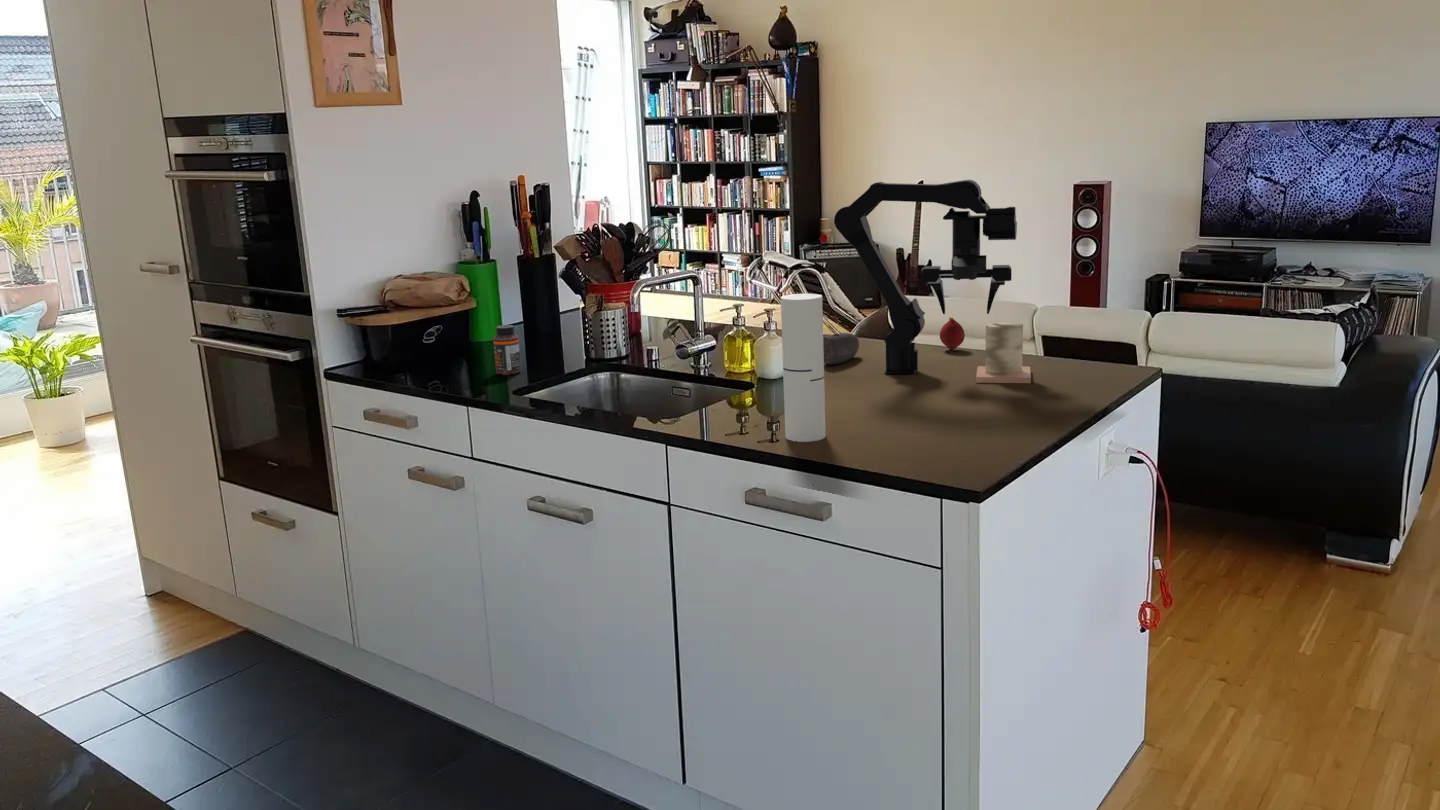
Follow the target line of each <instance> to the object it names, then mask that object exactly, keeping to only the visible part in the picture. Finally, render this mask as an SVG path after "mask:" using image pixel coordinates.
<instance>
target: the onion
mask: <svg viewBox="0 0 1440 810" xmlns="http://www.w3.org/2000/svg"><path fill="white" fill-rule="evenodd" d="M965 336H966V334H965V330H964V328H963V326H962V325H961V323H959V322H958V321H957V320H956V319H955V318H954V317H952V316H950V317H949V318H948V321H947V322H946V323H945V324H943V326H942V327H941V328H940V330H939V339H940V341H941V343H942V344H943V345H944V346H945V347H946V348H948V350H949V351H954V350H955V349H956V348H958V347H959V346H961V345H962V343H963V342H964V340H965Z"/></svg>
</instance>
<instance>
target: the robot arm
mask: <svg viewBox="0 0 1440 810" xmlns="http://www.w3.org/2000/svg"><path fill="white" fill-rule="evenodd" d="M882 201H883V202H909V203H910V202H912V203H913V202H914V203H935V204H939V205H943V206H946V207H950V208H949V210H948V212H947V213H946V214H944V215H943V216H942V220H945V221H946V220H952V240H951V241H952V242H951V243H952V246H951V247H952V248H951V249H952V251H951V252H952V253H951V254H952V257H951V269H942V268H941V267H942V266H941V265H934V266H933V265H931V266H929V265H927V266H926V265H925V266H923V268H921V271H920V282H921V283H926V286H928V287H931V288H932V289H933V291H934V293H935V294H936V297H937V301H938V302H939V306H940V309H941V312H942V314H943V315H945V314H946V301H945V294H944V285H943V284H944V283H943V280H942V279H953V280H955V281H960V280H970V281H973V280H977V278H978V279H979V278H981V279H984V278H991V279H990V284H989V285H990V286H989V291H988V298H987V305H986V314H987V315H989V314H990V312H991V308H992V306H993V302H994V299H995V296H996V294H997V292H998V291H999V288H1000V287H1001V286H1005V285H1006V282H1011V281H1012V267H1011V265H1009V264H992V268H987V255H984V254H981V220H982V235H983V236H985V237H987V239H988V241H1016V240H1017V233H1018V221H1017V214H1016V211H1017V210H1016V209H1017V208H1016V206H1007V207H990V205H989V203H988V202H986V200H985V199H984V197H983V196H982V188H981V186H980V185H979V184H978V183H977V181H975V180H972V179H963V180H956V181H949V182H944V183H939V184H938V183H937V184H932V183H931V184H930V183H929V184H927V183H892V182H890V183H888V182H884V181H876V182H874V183H872V184H871V185H870V186H869V188H868V189H866V190H865V191H864V193H862V194H861V195H860V196H859V197H858V198H857V199H856V200H854V201H853V202H852V203H851V204H850V205H847V206H844V207H841V208H840V209H838V210H837V211H836V213H835V215H834V219H833V223H834V226H835V228H836V229H837V231H838V232H839V233H840V234H841V236H842V237H843V238H844V239H845V240H846V242H847V243H849V244H850V245H851V246H852V247H853V248H854V249H855V250H856V252H857V254H858V256H859V257H860V260H861V261H862V262H863V264H864V266H865V268H866V270H867V272H868V273H869V275H870V277H871V279H872V280H873V282H874V283H875V286H876V287H877V289H878V291H879V293H880V294H881V296H882V298H883V301H885V303H886V306H887V309H888V313H889V318H890V321H891V325H892V326H893V327H892V330H891V331H890V332H889V333H888V334H887V335H885V337H884V339H883V340H884V343H885V370H884V374H885V375H914V374H916V371H917V370H918V369H919V350H918V349H916V342H914V340H915V338H916V337H918V336H919V335H920V333H921V332H922V331H923V329H924V327H925V324H926V322H925V317H924V316H925V314H926V312H925V311H924V310H922V308H921V306H920V305H919V301H918V300H917V298H913V299H911V300H910V299H909V298H908V297H907V296H906V295H905V294H904V292H903V290H902V288H900V286H899V283H898V281H897V280H896V278H895V276H894V274H893V273H892V271H891V269H890V268H889V266H888V263H886V260H885V258H884V257H883V256H882V253H881V251H880V250H879V248H878V246H877V245H876V243H875V241H874V240H873V235H872V231H871V227H870V223H869V220H868V218H867V216H869V215H870V213H872V212H873V211H874V210H875V209H876V207H878V206H879V205H880V204H881V203H882ZM955 209H962V210H955ZM970 211H971V212H974V213H975V214H977V215H972V214H971V212H970ZM981 214H983V215H981Z"/></svg>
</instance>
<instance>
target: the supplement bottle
mask: <svg viewBox="0 0 1440 810" xmlns="http://www.w3.org/2000/svg"><path fill="white" fill-rule="evenodd" d="M495 329H496V335H494V337H493V339H492V340H493V343H492V344H493V350H494V351H493V353H494V364H495V371H496V372H495V373H496V374H497V375H499V374H502V375H501V376H511V375H510V374H514V375H517V374H516V373H518V374H520V373H521V371H522V361H521V351H520V350H521V349H520V342H519V341H520V339H519V336H518V334H516V333H515V332H514V331H515V330H514V329H515V328H514V325H511V324H502V325H497V326H496V328H495ZM519 372H520V373H519Z"/></svg>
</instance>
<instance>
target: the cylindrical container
mask: <svg viewBox="0 0 1440 810" xmlns="http://www.w3.org/2000/svg"><path fill="white" fill-rule="evenodd" d="M780 311H781V312H780V315H781V317H780V318H781V342H782V343H781V344H782V345H781V347H782V370H783V371H782V373H783V374H782V375H783V377H782V378H783V400H784V401H783V404H784V405H783V406H784V407H783V408H784V435H785V437H786V438H785V437H784V438H785V439H786V440H788V441H790V440H791V442H796V441H797V443H798V442H799V443H800V442H801V443H810V442H817V441H821V440H823V439H825V438H826V399H825V397H826V394H825V392H826V391H825V390H826V389H825V363H824V349H823V337H824V317H823V316H824V315H823V313H824V311H823V295H822V294H817V293H793V294H792V293H791V294H785V295H782V296H781V297H780Z"/></svg>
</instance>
